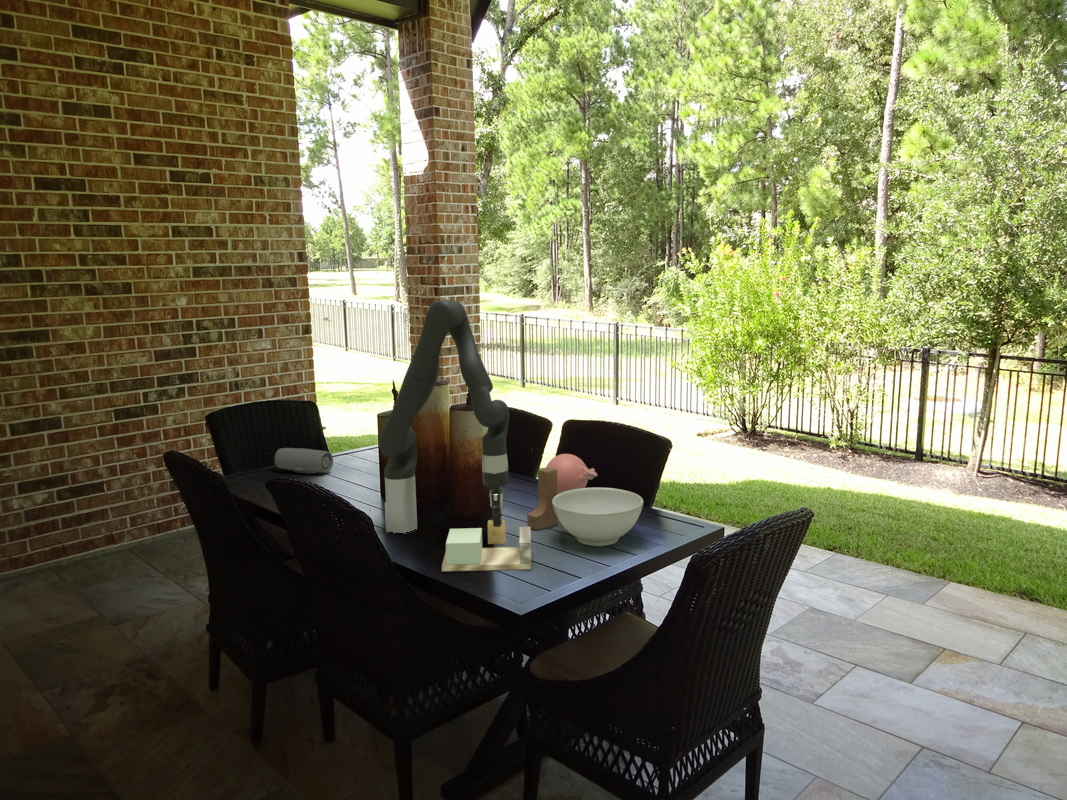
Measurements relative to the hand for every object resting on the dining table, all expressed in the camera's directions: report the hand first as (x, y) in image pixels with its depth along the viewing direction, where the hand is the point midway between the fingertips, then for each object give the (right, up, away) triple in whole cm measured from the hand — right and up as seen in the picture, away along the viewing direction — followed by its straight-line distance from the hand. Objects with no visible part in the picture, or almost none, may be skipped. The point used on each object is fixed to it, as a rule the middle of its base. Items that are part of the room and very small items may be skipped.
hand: (497, 521), depth 229 cm
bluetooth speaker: (-82, +6, +86) cm, 119 cm away
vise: (-2, -9, -15) cm, 17 cm away
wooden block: (+14, -4, +14) cm, 20 cm away
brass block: (0, -6, +1) cm, 6 cm away
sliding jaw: (-8, -7, -15) cm, 19 cm away
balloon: (+24, +1, +44) cm, 50 cm away
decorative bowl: (+30, -6, +1) cm, 30 cm away
